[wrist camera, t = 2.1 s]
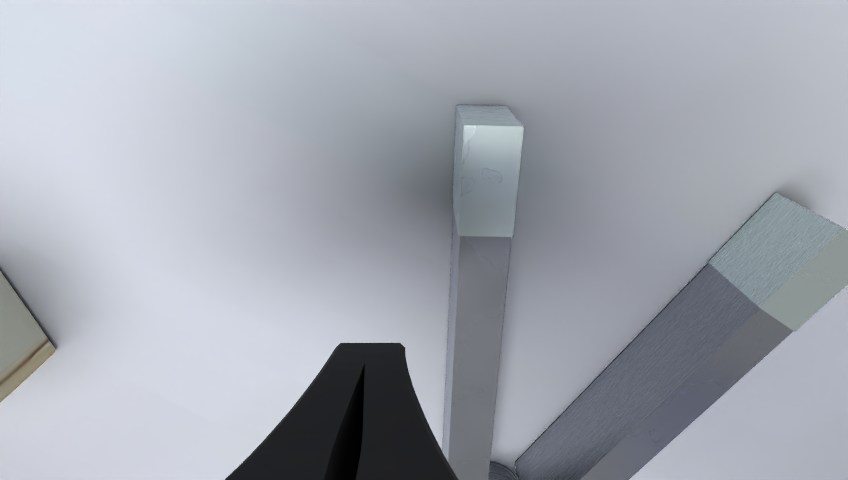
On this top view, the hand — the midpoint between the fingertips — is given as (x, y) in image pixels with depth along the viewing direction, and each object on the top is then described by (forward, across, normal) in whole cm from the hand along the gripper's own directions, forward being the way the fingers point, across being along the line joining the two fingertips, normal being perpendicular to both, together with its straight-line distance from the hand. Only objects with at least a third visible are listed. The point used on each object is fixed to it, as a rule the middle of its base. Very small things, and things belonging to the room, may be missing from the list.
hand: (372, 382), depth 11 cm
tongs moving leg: (+7, -3, +2) cm, 8 cm away
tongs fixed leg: (+7, -8, +6) cm, 12 cm away
